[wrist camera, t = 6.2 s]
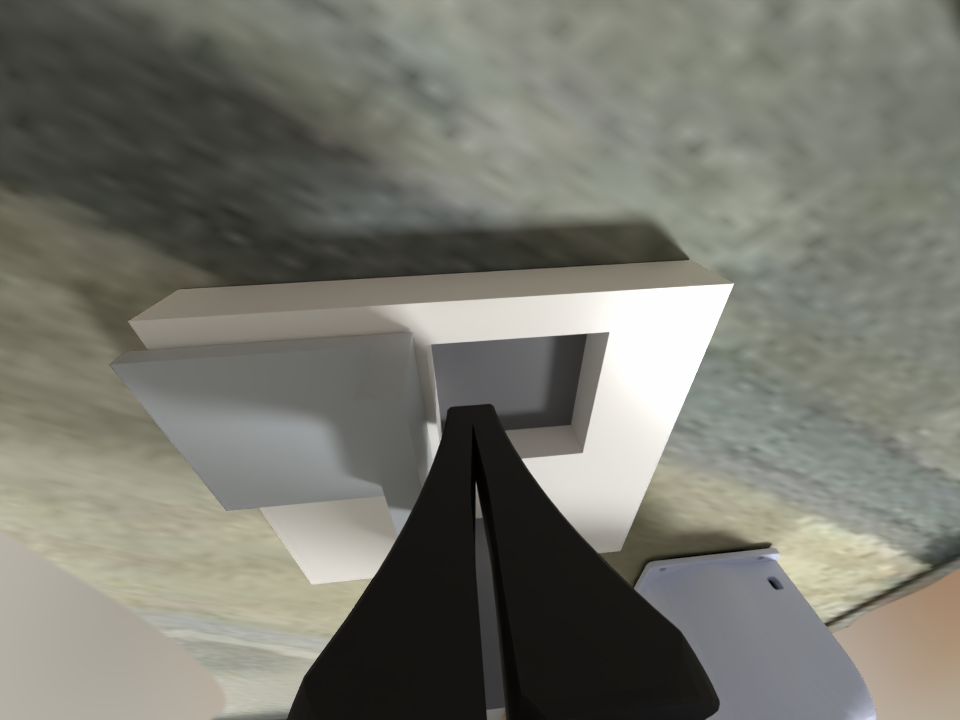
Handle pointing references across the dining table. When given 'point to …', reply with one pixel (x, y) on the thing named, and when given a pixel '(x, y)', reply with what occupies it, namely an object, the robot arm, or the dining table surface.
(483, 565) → the grey rectangular block
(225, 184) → the dining table surface
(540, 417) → the socket board
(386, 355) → the shutter
